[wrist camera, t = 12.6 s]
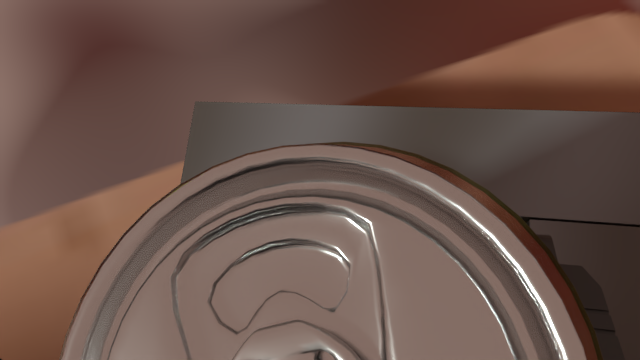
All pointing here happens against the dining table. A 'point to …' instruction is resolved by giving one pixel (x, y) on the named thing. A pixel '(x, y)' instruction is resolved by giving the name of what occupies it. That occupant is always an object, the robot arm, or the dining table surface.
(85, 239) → the dining table surface
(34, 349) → the dining table surface
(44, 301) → the dining table surface
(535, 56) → the dining table surface
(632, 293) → the square holder
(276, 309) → the soda can
